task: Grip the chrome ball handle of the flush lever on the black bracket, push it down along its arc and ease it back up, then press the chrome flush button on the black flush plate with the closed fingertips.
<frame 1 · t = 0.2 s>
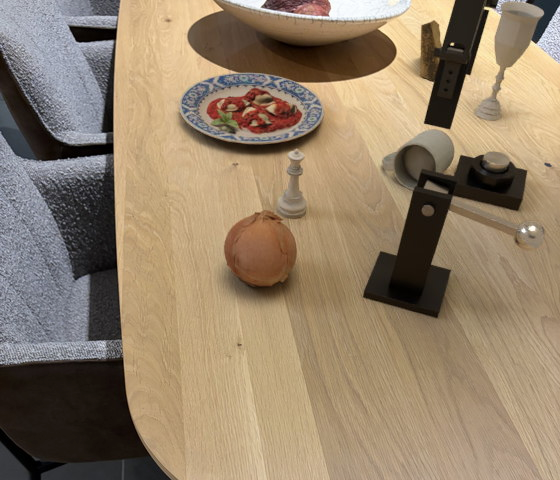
hand: (448, 96, 65), 24 cm above the table, tool pointing down, fingers open, 13 cm apart
flush button: (495, 163, 95), point 4 cm above the table, slide at 0.1 cm
chess piece: (291, 211, 91), on the table
lever bracket: (406, 286, 81), on the table
chalice: (487, 114, 115), on the table
ceramic mug: (411, 178, 99), on the table
onion: (259, 277, 81), on the table
rock: (429, 70, 126), on the table
flush plate: (486, 188, 98), on the table
flush lever: (481, 216, 70), point 13 cm above the table, hinge at -8.8°
ceramic plate: (251, 117, 109), on the table
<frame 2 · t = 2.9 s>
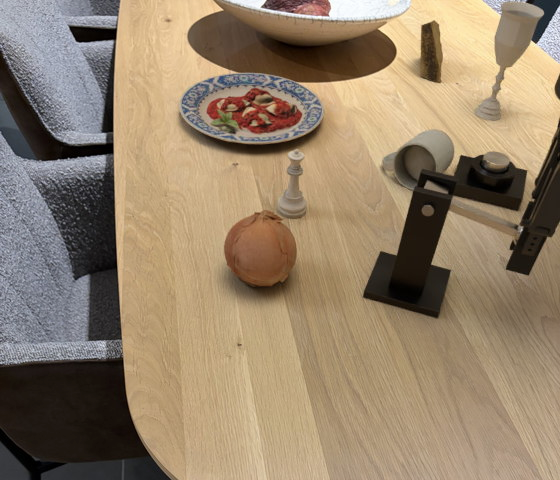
hand: (519, 260, 73), 9 cm above the table, tool pointing down, fingers closed on flush lever, 3 cm apart
flush lever: (481, 217, 70), point 13 cm above the table, hinge at -9.1°, touching gripper
everything else where it was.
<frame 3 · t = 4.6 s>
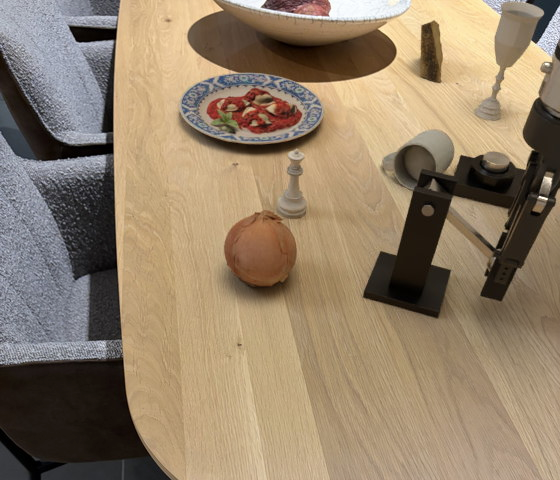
hand: (493, 286, 77), 4 cm above the table, tool pointing down, fingers closed on flush lever, 3 cm apart
flush lever: (468, 231, 72), point 11 cm above the table, hinge at -32.2°, touching gripper
everything else where it was.
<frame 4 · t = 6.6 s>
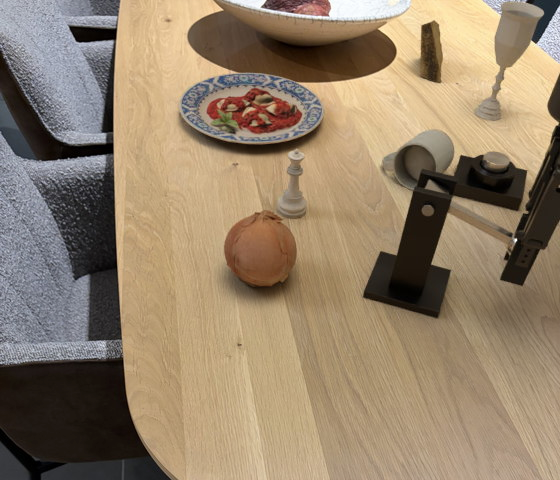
hand: (513, 270, 74), 7 cm above the table, tool pointing down, fingers closed on flush lever, 3 cm apart
flush lever: (478, 221, 71), point 12 cm above the table, hinge at -16.0°, touching gripper
everything else where it was.
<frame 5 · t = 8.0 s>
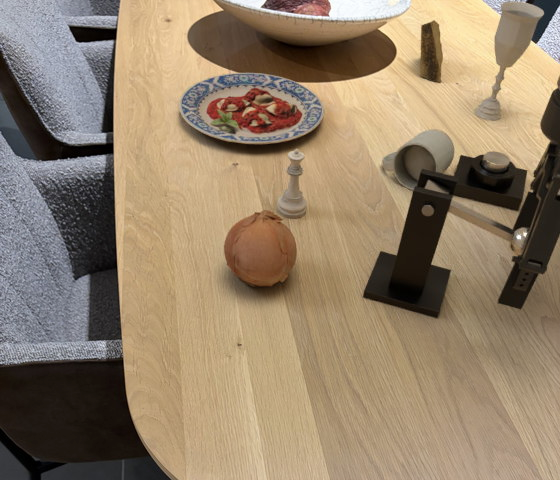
hand: (515, 270, 74), 7 cm above the table, tool pointing down, fingers open, 12 cm apart
flush lever: (479, 220, 71), point 13 cm above the table, hinge at -13.6°
everything else where it was.
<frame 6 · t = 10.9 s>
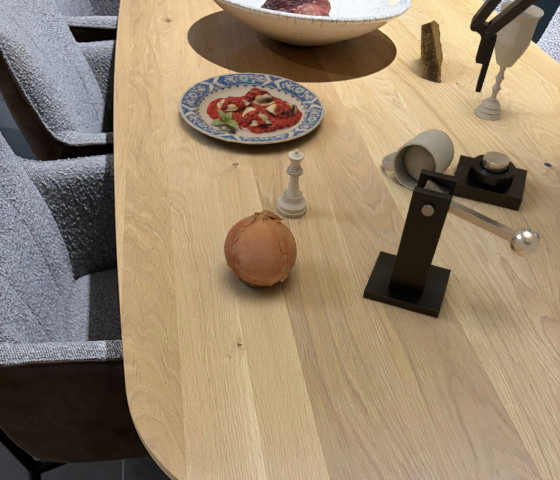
hand: (528, 97, 82), 17 cm above the table, tool pointing down, fingers open, 13 cm apart
nothing on the table moved.
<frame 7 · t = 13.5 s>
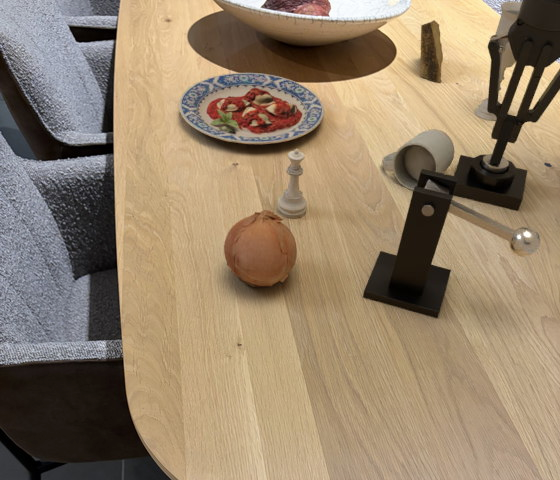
hand: (495, 159, 94), 5 cm above the table, tool pointing down, fingers closed
flush button: (494, 165, 95), point 4 cm above the table, slide at -0.4 cm, touching gripper
everything else where it was.
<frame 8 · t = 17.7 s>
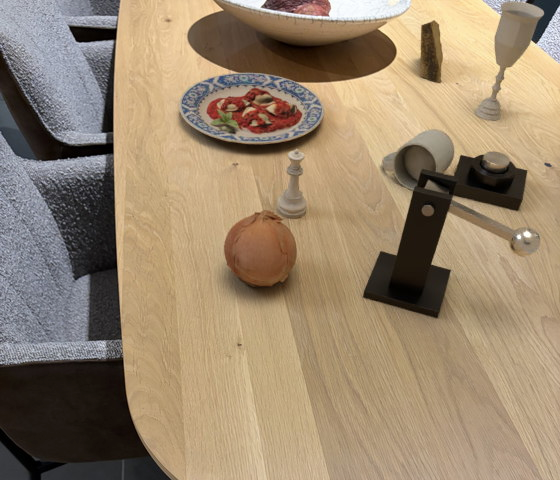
flush button: (495, 163, 95), point 4 cm above the table, slide at 0.1 cm
everything else where it was.
at the end: flush lever reached -32° during the clip, -14° at the end; flush button pushed in 1.0 cm at the most during the clip, back to where it started at the end; flush button slide at 0.1 cm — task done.
